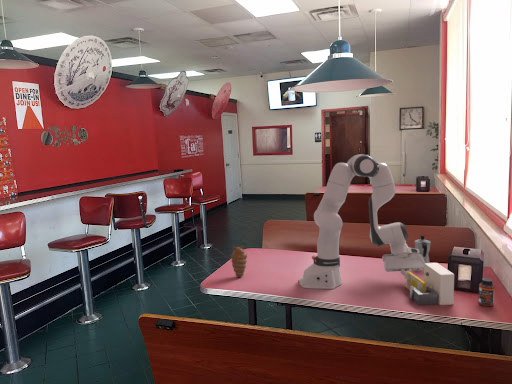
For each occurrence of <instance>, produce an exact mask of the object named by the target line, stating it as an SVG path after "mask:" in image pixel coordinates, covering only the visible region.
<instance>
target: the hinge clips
mask: <svg viewBox="0 0 512 384" xmlns="http://www.w3.org/2000/svg"><path fill="white" fill-rule="evenodd" d="M409 300H411V301H413V302H415V304H417V305H418V306H427V305H428V306H429V305H438V303H437V300H438V293H436V292H435V291H434V290H433V286H432V285H430V287H429V286H426V293H421V292H420V291H419V290H418V289H416V288H415V287H413V286H410V290H409Z"/></svg>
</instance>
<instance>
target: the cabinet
mask: <svg viewBox="0 0 512 384" xmlns="http://www.w3.org/2000/svg"><path fill="white" fill-rule="evenodd" d="M423 270H424V271H423V272H424V273H423V281H424V282H426V286H429V287H430V285H432V286H433V290H434V291H435V292H436V293H438V300H437V305H440V306H450V305H454V299H455V298H454V295H455V294H454V293H455V292H454V291H455V274H454V273H453V272H451V271H450V270H449V269H447V268H445V267H444V266H442V265H441V264H440V263H438V262H430V263H424V269H423Z"/></svg>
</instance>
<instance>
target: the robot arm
mask: <svg viewBox="0 0 512 384" xmlns="http://www.w3.org/2000/svg"><path fill="white" fill-rule="evenodd" d="M355 176H356V177H357V176H358V177H362V178H369V181H370V184H371V188H372V189H371V190H372V193H371V196H370V197H369V198H368V213H369V214H368V216H369V228H370V229H369V238H370V242H371V243H372V244H373V245H374V246H376V247H382V246H385V245H388V244H389V246H390V252H391V253H385V254H383V255H382V257H381V259H382V261H383V266H384V270H385V271H386V272H388V273H389V272H392V273H393V272H400V274H401V275H403V276H404V279H405V280H407V272H408V271H410V272H411V273H413V272H412V271H423V270H424V263H425V262H424V259H423V257H422V256H421V255H420V254H419V253H420V252H419V250H418V249H415V247H414V248H413V247H409V246H408V244H407V240H408V238H409V233H408V230H407V227H406V225H405V224H404V223H402V222H400V221H399V222H393V223H392V222H391V223H388V224H384V225H379V221H378V210H379V209H380V208H381V207H382V206H383V205H385V204H386V203H388V202H390V201H391V200H392V198H394V197H395V195H396V190H397V189H396V184H395V180H394V178H393V174H392V171H391V169H390V166H389V165H388V164H387V163H385V162H377V161H376V160H375V159H374V158H373V156H370V155H368V154H364V153H362V154H361V153H360V154H358V153H357V154H354V155H352V156H350V158H348V159H347V161H345V162H337V163H336V164H334V166H333V168H332V170H331V171H330V174H329V177H328V180H327V183H326V187H325V190H324V193H323V196H322V199H321V200H320V203H319V204H318V206H317V209H316V210H315V211H314V213H313V221H314V223H315V224H316V226H317V227H318V229H319V231H318V233H319V234H318V238H317V242H316V248H317V249H316V251H317V252H316V253H317V255H316V256H315V255H313V254H312V256H311V259H312V261H313V263H312V264H311V265H309V266H308V267H306V268H305V269H304V271H303V275H302V276H301V277H300V278H299V279H298V284H299V285H300V287H302V288H304V289H314V290H315V289H318V290H319V289H321V290H326V289H327V290H333V289H336V287H337V288H338V287H339V286H341V285H342V284H343V280H342V276H341V271H340V267H341V257H340V249H339V248H340V247H339V244H340V237H341V236H340V235H341V232H342V229H343V225H344V224H343V219H342V218H341V216H340V214H338V213H339V212H340V211H339V210H340V208H341V207H342V206H343V204H344V203H346V198H347V195H348V192H349V188H350V186H351V182H352V180H353V178H355Z"/></svg>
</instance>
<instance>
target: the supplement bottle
mask: <svg viewBox="0 0 512 384" xmlns="http://www.w3.org/2000/svg"><path fill="white" fill-rule="evenodd" d="M495 289H496V288H495V285H494V284H493V279H492V278H489V277H484V278H483V277H482V278H481V282H480V283H479V284H478V296H477V297H478V300H477V302H478V304H479V305H481V306H483V307H493V306H494V304H495Z"/></svg>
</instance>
